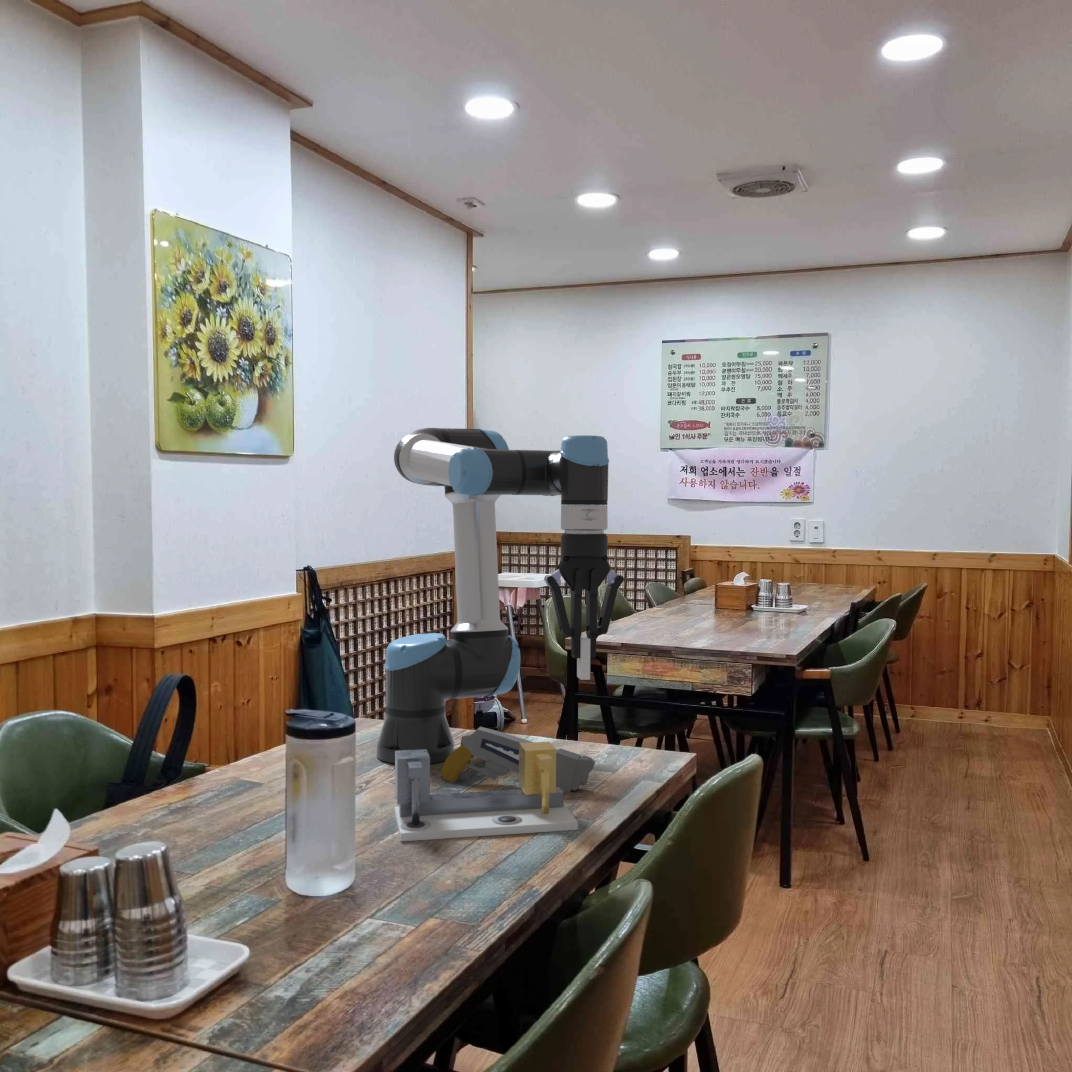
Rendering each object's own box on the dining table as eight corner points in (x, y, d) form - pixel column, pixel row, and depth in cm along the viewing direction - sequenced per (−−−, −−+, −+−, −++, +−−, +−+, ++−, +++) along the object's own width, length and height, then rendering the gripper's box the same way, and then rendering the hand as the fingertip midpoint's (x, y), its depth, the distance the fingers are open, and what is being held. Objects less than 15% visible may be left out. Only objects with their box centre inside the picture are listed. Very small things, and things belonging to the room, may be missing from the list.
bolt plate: (394, 813, 161) (394, 805, 161) (558, 804, 167) (558, 795, 167) (400, 841, 148) (400, 832, 148) (577, 829, 154) (578, 820, 154)
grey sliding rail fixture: (395, 809, 160) (395, 750, 159) (557, 799, 165) (558, 743, 165) (399, 828, 151) (399, 766, 150) (571, 817, 156) (571, 757, 156)
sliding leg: (518, 797, 164) (519, 743, 163) (548, 796, 165) (549, 741, 164) (530, 815, 155) (530, 757, 154) (561, 813, 156) (562, 755, 155)
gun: (561, 841, 174) (594, 764, 172) (435, 778, 179) (466, 702, 177) (565, 835, 177) (597, 759, 175) (441, 773, 182) (471, 699, 180)
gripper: (549, 533, 156) (549, 683, 157) (630, 532, 159) (629, 680, 160) (539, 531, 164) (539, 675, 165) (616, 531, 166) (615, 672, 167)
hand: (583, 678), depth 162 cm, fingers closed
